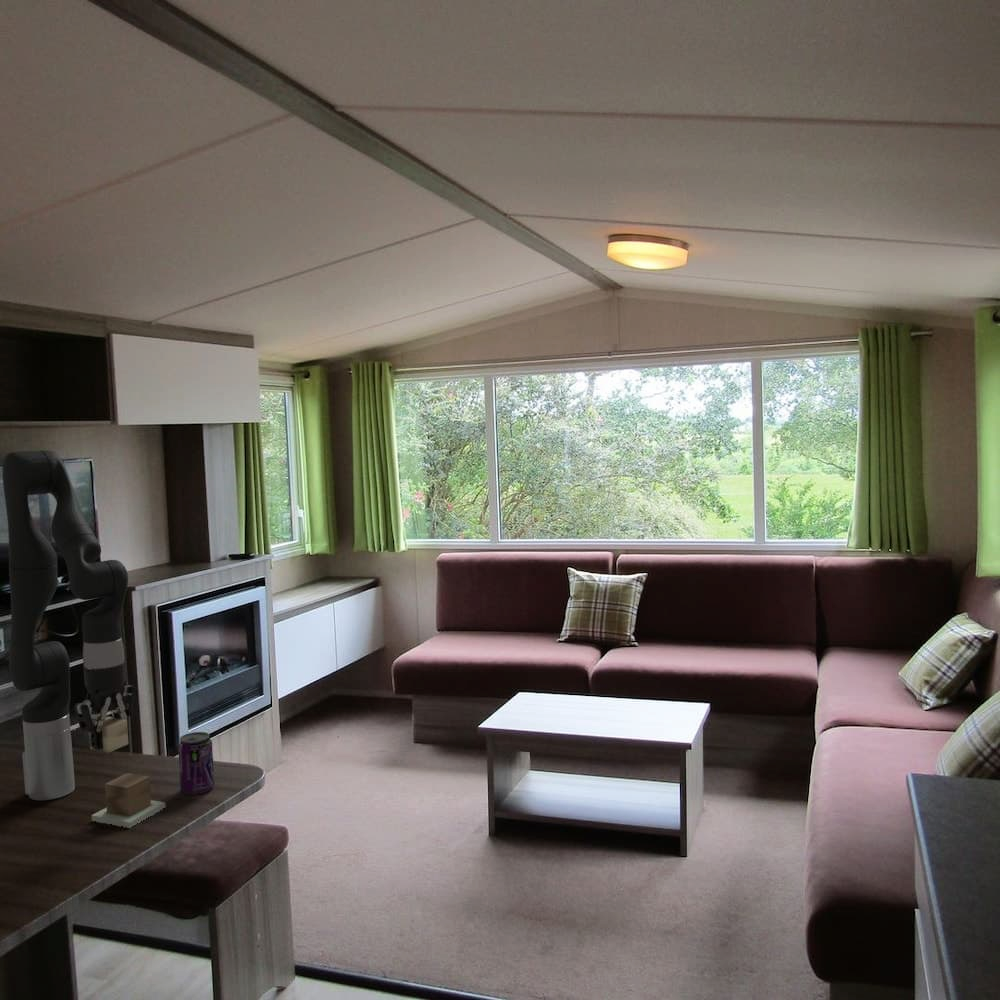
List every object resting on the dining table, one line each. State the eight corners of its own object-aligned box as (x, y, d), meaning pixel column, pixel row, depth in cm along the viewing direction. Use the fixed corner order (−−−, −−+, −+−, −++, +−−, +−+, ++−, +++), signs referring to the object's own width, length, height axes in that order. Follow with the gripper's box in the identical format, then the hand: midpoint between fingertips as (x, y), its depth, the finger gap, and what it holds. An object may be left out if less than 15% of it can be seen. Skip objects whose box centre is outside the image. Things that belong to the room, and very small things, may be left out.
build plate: (92, 820, 192) (91, 814, 192) (128, 801, 202) (128, 795, 201) (129, 828, 189) (129, 822, 188) (165, 808, 198) (165, 802, 198)
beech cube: (90, 748, 187) (88, 724, 187) (110, 740, 192) (108, 716, 191) (108, 752, 185) (107, 728, 185) (128, 743, 190) (127, 719, 189)
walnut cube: (106, 812, 193) (104, 783, 193) (128, 800, 199) (126, 773, 198) (129, 816, 191) (127, 787, 191) (150, 804, 197) (149, 776, 196)
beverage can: (204, 797, 203) (201, 743, 201) (174, 795, 204) (171, 741, 203) (220, 784, 210) (217, 731, 208) (191, 782, 211) (188, 730, 210)
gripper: (118, 650, 195) (122, 730, 197) (60, 669, 182) (65, 754, 184) (145, 654, 192) (150, 735, 194) (88, 673, 179) (94, 760, 181)
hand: (109, 743), depth 189 cm, fingers closed on beech cube, 5 cm apart
